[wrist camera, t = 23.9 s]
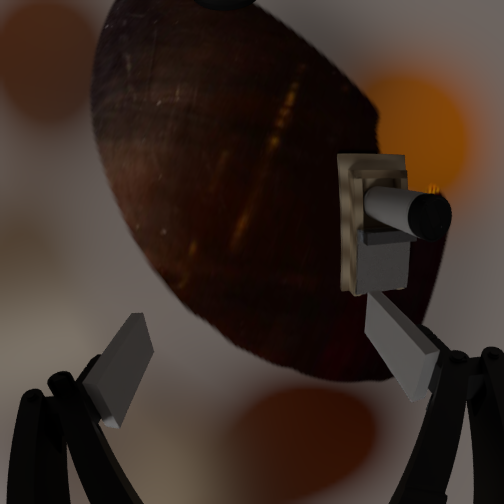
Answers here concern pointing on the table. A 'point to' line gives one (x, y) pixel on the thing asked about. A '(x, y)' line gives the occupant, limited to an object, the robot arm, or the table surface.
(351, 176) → the holder
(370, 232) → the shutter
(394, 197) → the travel mug
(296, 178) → the table surface
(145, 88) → the table surface
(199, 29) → the table surface
